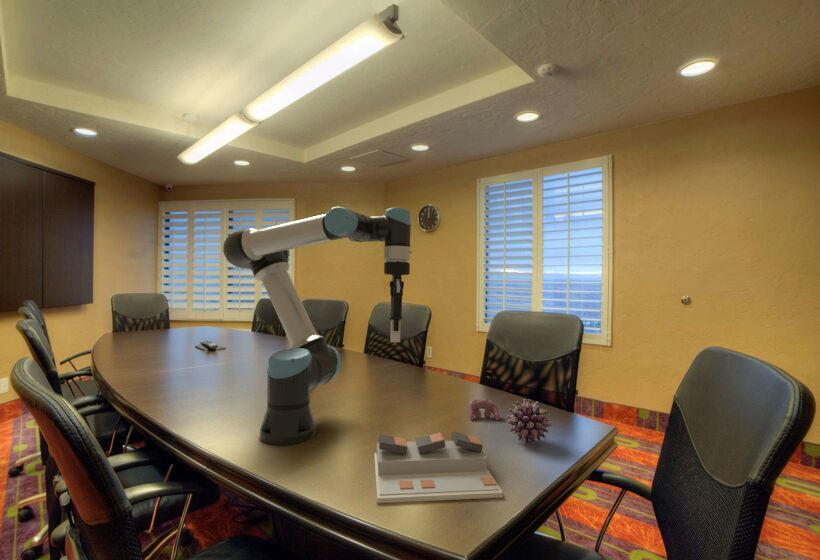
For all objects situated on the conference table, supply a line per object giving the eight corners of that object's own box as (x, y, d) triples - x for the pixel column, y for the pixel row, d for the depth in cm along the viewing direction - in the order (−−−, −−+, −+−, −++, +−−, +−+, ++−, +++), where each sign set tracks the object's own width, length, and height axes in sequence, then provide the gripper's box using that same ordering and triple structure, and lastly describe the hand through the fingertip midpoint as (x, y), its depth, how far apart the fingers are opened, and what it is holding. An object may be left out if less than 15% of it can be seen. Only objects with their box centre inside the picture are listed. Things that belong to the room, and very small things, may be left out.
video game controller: (496, 422, 127) (494, 400, 130) (500, 420, 123) (498, 397, 126) (467, 421, 127) (465, 399, 130) (470, 420, 123) (468, 397, 126)
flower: (546, 455, 100) (547, 409, 100) (501, 444, 106) (502, 401, 106) (554, 439, 110) (555, 397, 110) (511, 430, 116) (512, 391, 116)
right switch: (455, 446, 91) (457, 438, 91) (451, 437, 96) (453, 430, 96) (481, 452, 92) (483, 445, 92) (475, 443, 96) (477, 437, 96)
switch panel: (377, 503, 77) (377, 483, 77) (374, 457, 97) (374, 441, 97) (502, 497, 80) (503, 478, 80) (475, 453, 100) (475, 438, 100)
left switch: (379, 449, 89) (380, 441, 89) (378, 440, 93) (380, 433, 93) (405, 454, 89) (407, 447, 89) (403, 445, 94) (405, 438, 94)
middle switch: (419, 453, 90) (417, 446, 90) (416, 444, 94) (415, 438, 94) (445, 447, 90) (444, 440, 90) (441, 438, 95) (440, 431, 95)
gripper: (412, 260, 107) (410, 345, 107) (407, 262, 120) (405, 338, 120) (385, 260, 106) (383, 345, 106) (383, 262, 119) (381, 338, 119)
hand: (395, 341), depth 113 cm, fingers closed
